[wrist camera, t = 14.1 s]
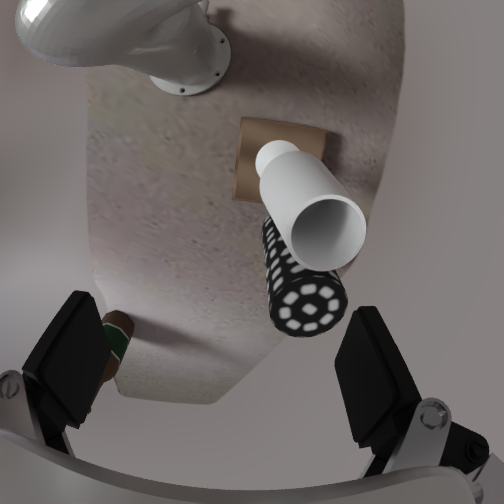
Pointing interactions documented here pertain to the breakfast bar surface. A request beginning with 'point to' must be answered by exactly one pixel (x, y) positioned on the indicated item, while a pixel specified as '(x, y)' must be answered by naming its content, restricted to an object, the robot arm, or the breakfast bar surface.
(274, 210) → the champagne flute
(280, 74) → the breakfast bar surface
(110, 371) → the beer bottle
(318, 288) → the spotted tube
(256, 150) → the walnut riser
